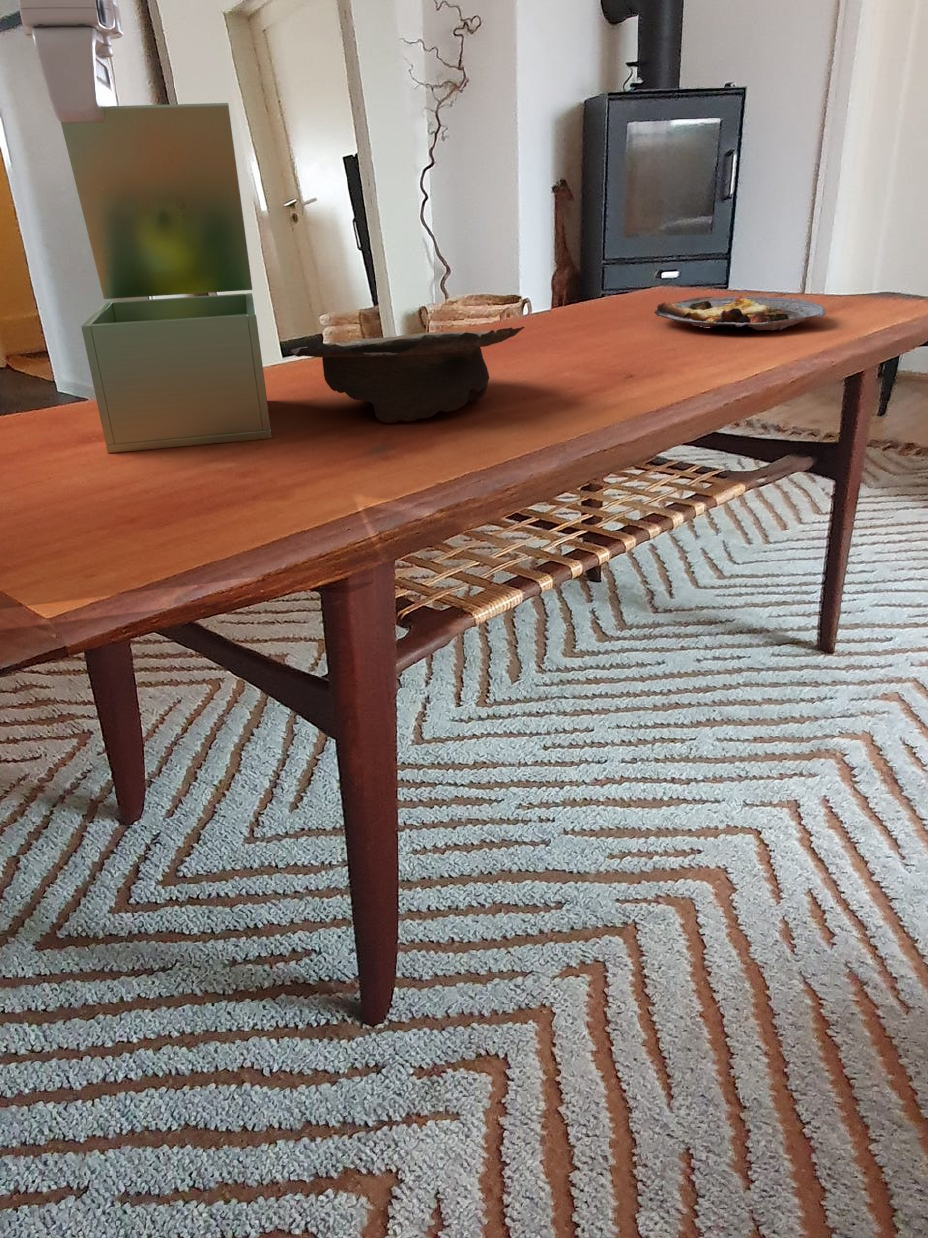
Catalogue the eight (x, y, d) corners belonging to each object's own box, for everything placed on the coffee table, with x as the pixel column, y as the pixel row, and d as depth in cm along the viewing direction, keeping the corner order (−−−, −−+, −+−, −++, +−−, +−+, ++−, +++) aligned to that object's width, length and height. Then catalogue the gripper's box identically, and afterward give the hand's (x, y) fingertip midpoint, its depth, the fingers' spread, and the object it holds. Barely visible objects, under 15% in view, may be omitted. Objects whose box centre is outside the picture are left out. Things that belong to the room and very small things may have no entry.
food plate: (719, 342, 130) (721, 316, 128) (625, 322, 149) (626, 299, 147) (855, 324, 139) (858, 300, 137) (750, 307, 158) (752, 285, 156)
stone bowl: (442, 441, 88) (430, 340, 84) (253, 431, 101) (235, 344, 97) (563, 384, 106) (558, 299, 102) (390, 383, 120) (379, 307, 116)
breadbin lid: (228, 104, 90) (226, 91, 93) (57, 109, 87) (61, 95, 90) (252, 289, 102) (250, 272, 105) (103, 299, 99) (106, 280, 103)
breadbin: (271, 438, 92) (255, 314, 87) (107, 453, 90) (81, 325, 84) (266, 399, 108) (252, 292, 103) (126, 411, 105) (104, 302, 100)
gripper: (54, 30, 96) (83, 178, 102) (13, -3, 78) (51, 180, 84) (118, 29, 97) (142, 176, 103) (92, -4, 79) (124, 177, 85)
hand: (101, 178), depth 93 cm, fingers closed
